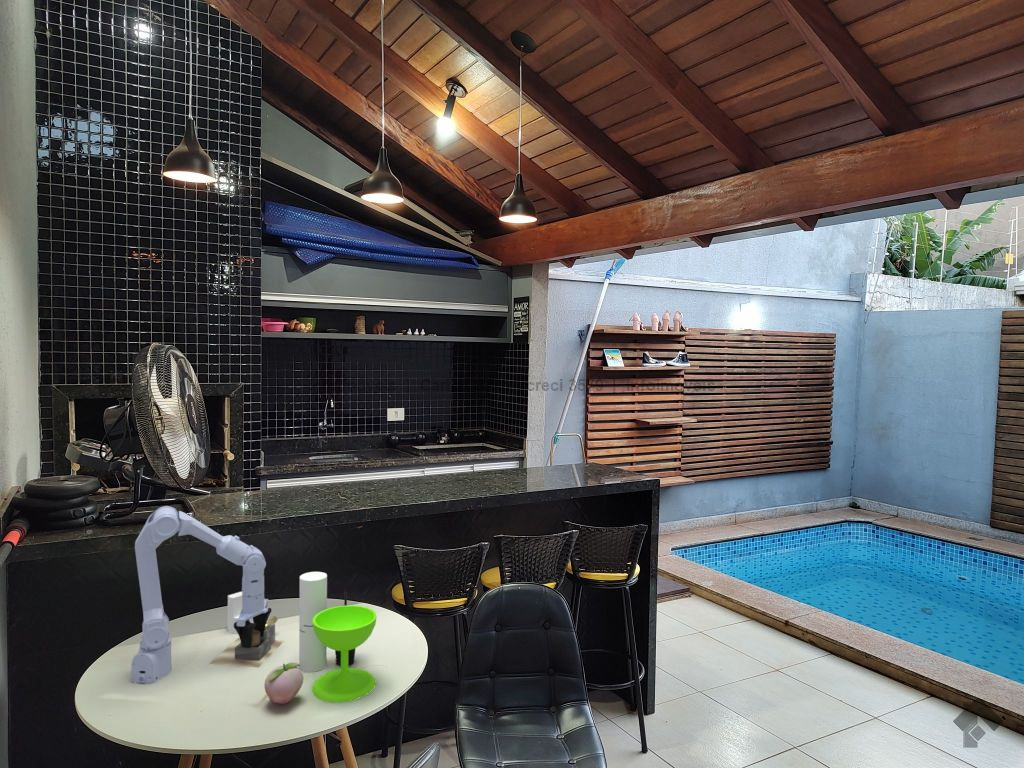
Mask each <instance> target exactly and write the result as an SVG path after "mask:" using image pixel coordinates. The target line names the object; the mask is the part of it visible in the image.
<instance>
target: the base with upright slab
mask: <svg viewBox="0 0 1024 768" xmlns="http://www.w3.org/2000/svg"><path fill="white" fill-rule="evenodd" d="M241 610H242V591H238V592H235V593H231V594H228V595H227V617H226V620H227V621H226V622H227V625H226V626H227V632H228V633H229V634H235V635H238V633H237V631H236V629H235V628H234V623H235V622H236V621H237V619H238V618H239V615H240V612H241ZM249 622H251V623H254V622H253V618H251V619H250V620H249Z"/></svg>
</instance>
